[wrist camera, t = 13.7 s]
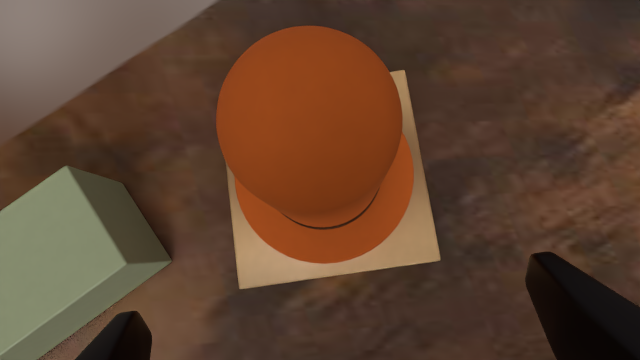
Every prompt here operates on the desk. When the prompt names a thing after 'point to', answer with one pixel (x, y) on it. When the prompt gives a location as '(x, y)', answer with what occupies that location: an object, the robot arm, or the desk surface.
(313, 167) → the hat
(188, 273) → the desk surface
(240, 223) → the stand
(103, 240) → the sage box
